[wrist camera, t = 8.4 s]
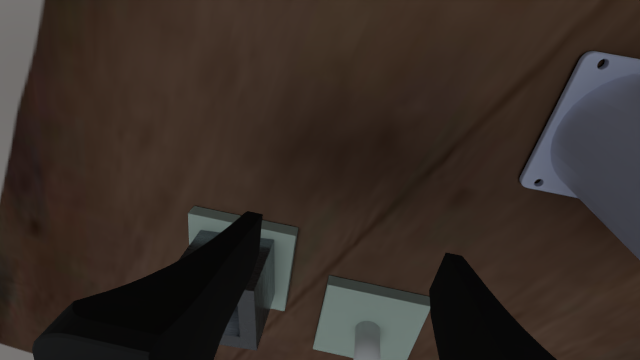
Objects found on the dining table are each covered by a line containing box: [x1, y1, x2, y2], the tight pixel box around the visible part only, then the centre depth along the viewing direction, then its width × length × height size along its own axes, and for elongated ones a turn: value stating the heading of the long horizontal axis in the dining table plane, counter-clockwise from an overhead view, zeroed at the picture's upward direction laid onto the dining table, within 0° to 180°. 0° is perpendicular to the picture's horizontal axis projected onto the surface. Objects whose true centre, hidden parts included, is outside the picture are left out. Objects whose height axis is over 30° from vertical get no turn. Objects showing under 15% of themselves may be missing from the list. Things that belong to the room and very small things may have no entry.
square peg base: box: [188, 206, 298, 311], centre depth 26 cm, size 8×8×4 cm
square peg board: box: [313, 275, 430, 360], centre depth 27 cm, size 8×8×4 cm
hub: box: [178, 230, 275, 350], centre depth 25 cm, size 6×6×5 cm
